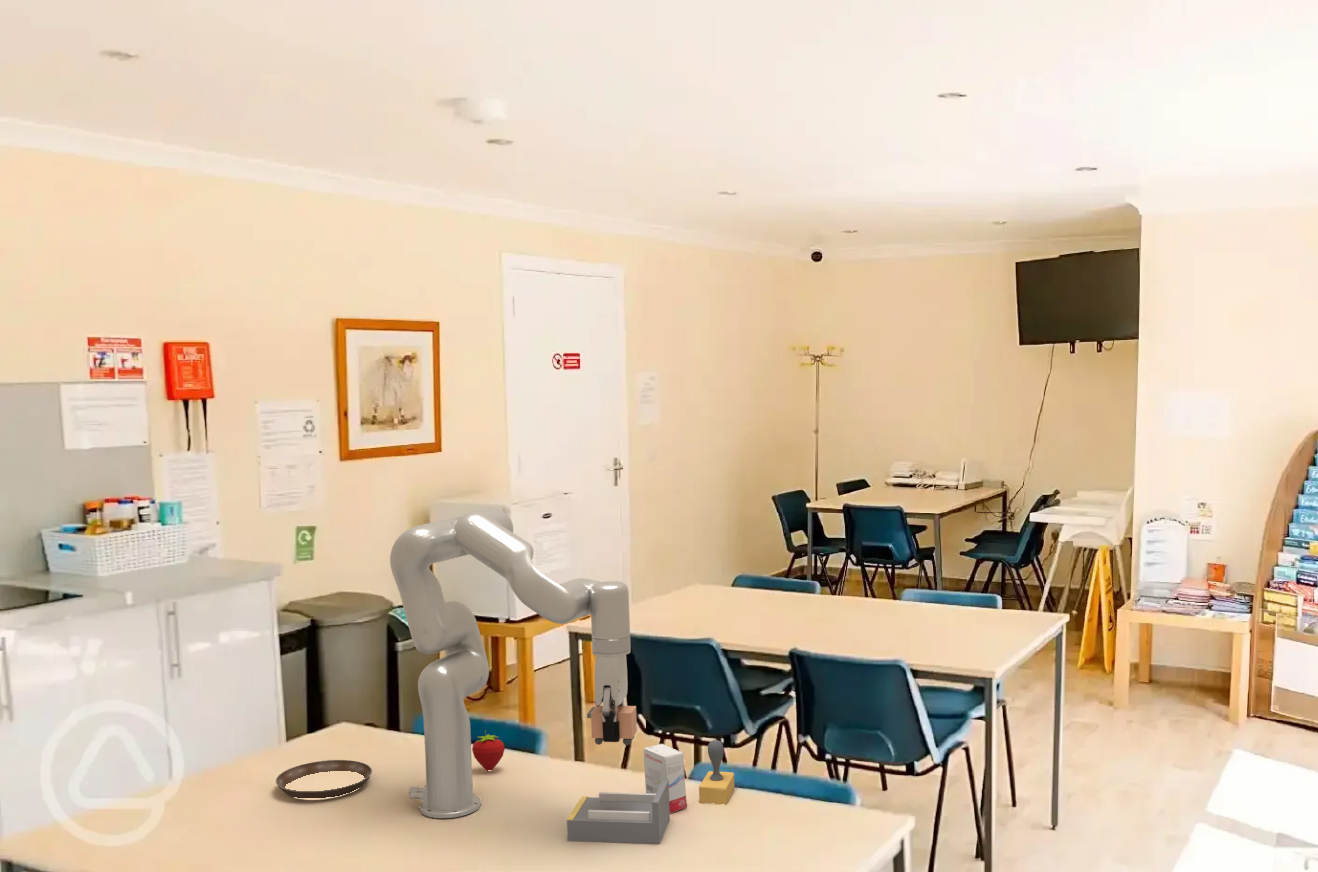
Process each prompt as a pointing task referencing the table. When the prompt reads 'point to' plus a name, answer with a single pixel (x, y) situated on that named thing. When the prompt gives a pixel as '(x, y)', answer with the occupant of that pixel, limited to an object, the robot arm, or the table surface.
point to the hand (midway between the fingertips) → (614, 736)
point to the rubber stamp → (716, 778)
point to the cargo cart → (624, 717)
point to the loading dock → (621, 817)
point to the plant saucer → (323, 767)
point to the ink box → (666, 774)
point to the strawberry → (488, 751)
